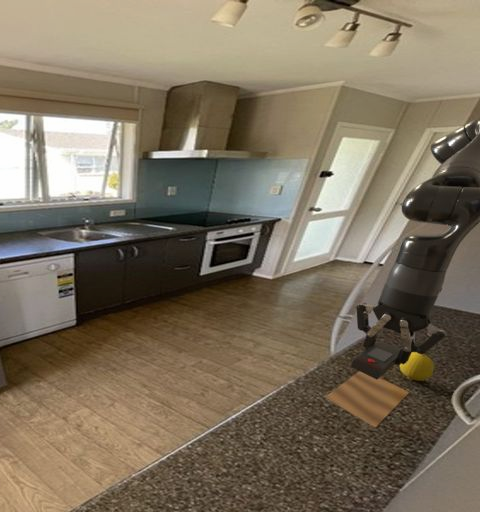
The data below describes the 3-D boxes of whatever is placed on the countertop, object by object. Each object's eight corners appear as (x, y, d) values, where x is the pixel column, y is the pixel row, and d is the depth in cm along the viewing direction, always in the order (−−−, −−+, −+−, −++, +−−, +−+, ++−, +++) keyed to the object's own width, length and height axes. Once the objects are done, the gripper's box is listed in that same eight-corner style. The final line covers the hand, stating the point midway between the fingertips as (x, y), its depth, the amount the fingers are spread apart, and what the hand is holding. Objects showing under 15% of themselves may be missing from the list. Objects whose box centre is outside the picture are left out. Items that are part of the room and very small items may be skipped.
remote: (376, 347, 67) (379, 339, 66) (402, 358, 64) (405, 349, 63) (350, 366, 61) (353, 358, 60) (377, 380, 57) (380, 370, 56)
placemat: (361, 370, 75) (361, 369, 75) (408, 393, 68) (409, 392, 68) (324, 398, 66) (324, 397, 66) (374, 429, 58) (375, 427, 58)
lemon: (430, 391, 69) (444, 363, 66) (399, 381, 71) (410, 355, 69) (421, 377, 73) (433, 351, 71) (392, 369, 76) (402, 343, 73)
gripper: (359, 277, 62) (336, 344, 67) (460, 305, 50) (423, 383, 56) (373, 271, 66) (351, 335, 71) (471, 296, 54) (435, 371, 59)
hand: (383, 356), depth 63 cm, fingers closed on remote, 4 cm apart
